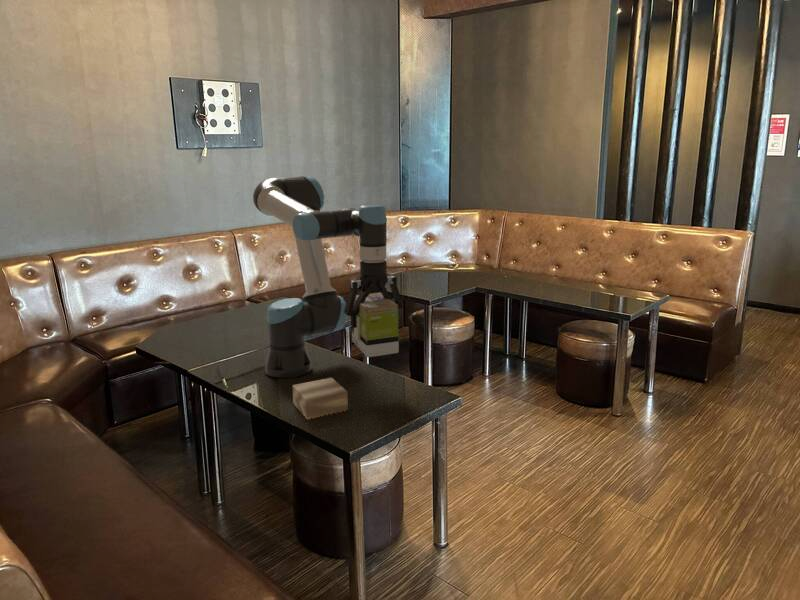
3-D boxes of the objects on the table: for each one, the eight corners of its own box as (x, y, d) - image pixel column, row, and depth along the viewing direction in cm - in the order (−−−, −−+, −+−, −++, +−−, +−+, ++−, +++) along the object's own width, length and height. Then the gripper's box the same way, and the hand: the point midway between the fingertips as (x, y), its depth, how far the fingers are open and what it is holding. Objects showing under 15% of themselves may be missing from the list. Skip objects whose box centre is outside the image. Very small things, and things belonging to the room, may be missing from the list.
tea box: (350, 342, 182) (349, 294, 178) (382, 338, 185) (381, 291, 181) (366, 358, 168) (365, 307, 164) (399, 353, 172) (399, 303, 168)
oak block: (293, 404, 174) (292, 385, 172) (332, 396, 179) (331, 377, 178) (307, 420, 163) (306, 400, 162) (348, 411, 169) (347, 391, 167)
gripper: (340, 266, 162) (342, 344, 167) (415, 258, 172) (415, 332, 177) (330, 261, 168) (333, 337, 174) (403, 254, 178) (403, 326, 184)
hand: (374, 334), depth 176 cm, fingers closed on tea box, 10 cm apart
